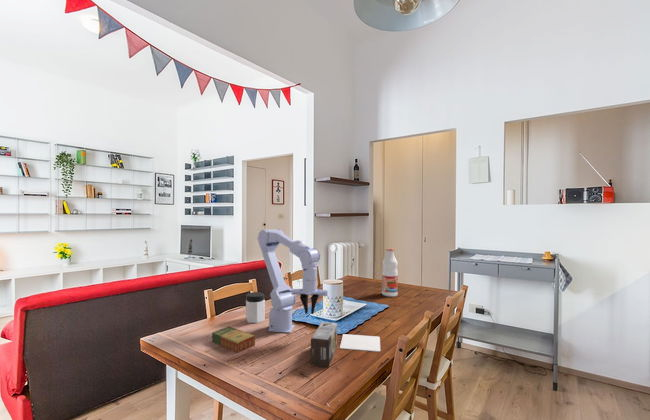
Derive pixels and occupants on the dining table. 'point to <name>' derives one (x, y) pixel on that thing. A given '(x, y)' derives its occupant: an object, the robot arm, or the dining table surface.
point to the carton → (233, 339)
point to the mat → (360, 342)
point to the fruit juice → (390, 274)
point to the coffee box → (324, 344)
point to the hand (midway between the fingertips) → (309, 313)
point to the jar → (255, 307)
